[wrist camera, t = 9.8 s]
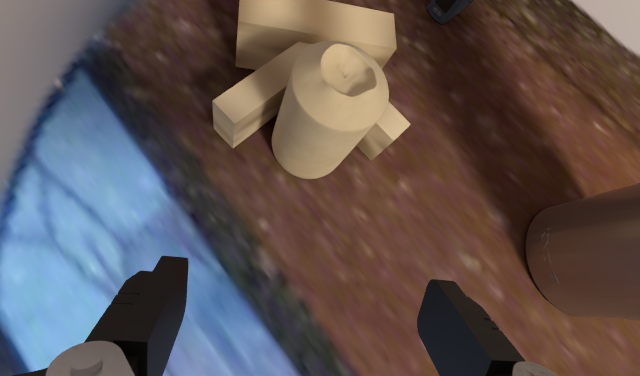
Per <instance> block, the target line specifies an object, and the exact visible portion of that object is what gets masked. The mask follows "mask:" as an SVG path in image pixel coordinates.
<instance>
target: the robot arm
mask: <svg viewBox="0 0 640 376" xmlns="http://www.w3.org/2000/svg"><path fill="white" fill-rule="evenodd" d="M525 247H526V258H527V262H528V266H529V270H530V272H531V275H532V277H533V279H534V282H535V283H536V285H537V287H538V288H539V290H540V291H541V293H542V294H543V295H544V296H545V297H546V298H547V300H548V301H549V302H550V303H552V304H553V305H554V306H556V307H557V308H558V309H560V310H562V311H564V312H566V313H568V314H571V315H575V316H582V317H598V318H615V319H628V320H640V183H639V184H635V185H631V186H627V187H624V188H620V189H616V190H612V191H609V192H605V193H601V194H597V195H593V196H589V197H585V198H582V199H578V200H574V201H570V202H566V203H563V204H559V205H555V206H551V207H548V208H546V209H544V210H542V211H541V212H539V213H538V214H537V215H536V216H535V217H534V219H533V221H532V222H531V224H530V226H529V229H528V232H527V236H526V245H525ZM187 279H188V258H183V257H171V256H162V257H161V258H160V260H159V261H158V263H157V265H156V267H155V268H154V270H153V272H151V271H140V272H138V273H137V274H135V275H134V276H132V277H131V278H129V279H128V280H126V282H125V283H124V284H123V286H122V287H121V289H120V290H119V292H118V295H116V296H115V298H114V299H113V301H112V302H111V305H109V307H108V308H107V310H106V311H105V312H104V314H103V315H102V317H101V318H100V320H99V321H98V323H97V324H96V326H95V327H94V329H93V330H92V332H91V333H90V335H89V336H88V338H87V339H86V340H85V342H84V343H82V344H78V345H76V346H73V347H71V348H69V349H67V350H66V351H64V352H63V353H61V354H60V355H59V356H57V357H56V358H55V359H54V360H53V361H52V363H51V364H50V365H49V367H48V368H45V369H42V370H38V371H34V372H29V373H24V374H19V375H14V376H162V375H163V373H164V370H165V367H166V364H167V362H168V359H169V356H170V353H171V351H172V348H173V345H174V342H175V340H176V337H177V334H178V331H179V329H180V326H181V323H182V320H183V317H184V312H185V307H186V298H187ZM417 328H418V333H419V336H420V338H421V340H422V342H423V344H424V346H425V348H426V350H427V352H428V354H429V356H430V358H431V360H432V361H433V363H434V365H435V367H436V369H437V371H438V373H439V375H440V376H557V375H555V374H554V373H553V372H551V371H550V370H548V369H546V368H544V367H542V366H540V365H538V364H535V363H531V362H526V361H525V360H524V358H523V357H522V356H521V355H520V354H519V352H518V351H517V350H516V349H515V347H514V346H513V345H512V344H511V342H510V341H509V340H508V339H507V337H506V336H505V335H504V334H503V333H502V331H500V330H499V328H498V326H497V325H496V324H495V323H494V321H491V318H490V316H489V315H488V314H487V313H486V312H485V310H484V309H483V308H482V307H481V306H480V305H478V304H477V303H476V302H474V301H473V300H472V299H470V298H469V297H467V296H466V295H465V294H464V293H463V291H462V290H461V289H460V287H459V286H458V285H457V284H456V283H455V282H454V281H446V280H434V279H432V280H430V281H429V283H428V285H427V288H426V292H425V295H424V298H423V301H422V305H421V308H420V311H419V314H418V319H417Z"/></svg>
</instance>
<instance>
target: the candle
mask: <svg viewBox="0 0 640 376" xmlns="http://www.w3.org/2000/svg"><path fill="white" fill-rule="evenodd" d="M388 98H389V90H388V84H387V80H386V78H385V75H384V73H383V71H382V69H381V68H380V66H379V65H378V64H377V62H376V61H375V60H374V59H373V58H372V57H371V56H370V55H369V54H368V53H366V52H365V51H363V50H362V49H360V48H358V47H356V46H354V45H352V44H349V43H345V42H341V41H323V42H319V43H316V44H313V45H311V46H309V47H308V48H306V49H305V50H304V51H302V52H301V54H300V55H299V56H298V57H297V59H296V61H295V63H294V65H293V68H292V71H291V74H290V78H289V81H288V84H287V87H286V91H285V94H284V97H283V100H282V104H281V107H280V110H279V113H278V117H277V120H276V123H275V126H274V130H273V134H272V149H273V153H274V156H275V158H276V160H277V161H278V163H279V164H280V165H281V166H282V167H283V168H284V169H285V170H286V171H287V172H289V173H290V174H292V175H294V176H297V177H300V178H304V179H316V178H320V177H323V176H325V175H327V174H329V173H330V172H332V171H333V170H334V169H335V168H336V167H337V166H338V165H339V164H340V163H341V162H342V160H343V159H344V158H345V157H346V156H347V155H348V154H349V153H350V151H351V150H352V149H353V148H354V147H355V146H356V145H357V144H358V142H359V141H360V140H361V139H362V138H363V137H364V136H365V135H366V133H367V132H368V131H369V130H370V129H371V128H372V127H373V126H374V124H375V123H376V122H377V121H378V120H379V119H380V118H381V116H382V115H383V113H384V111H385V109H386V107H387V104H388Z"/></svg>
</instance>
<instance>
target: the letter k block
mask: <svg viewBox="0 0 640 376" xmlns="http://www.w3.org/2000/svg"><path fill="white" fill-rule="evenodd" d="M323 41H341V42H345V43H349V44H352V45H354V46H356V47H358V48H360V49H362V50H363V51H365V52H366V53H368V54H369V55H370V56H371V57H372V58H373V59H374V60H375V61H376V62H377V64H378V65H379V66H380V68H381V69H382V68H383V67H384V65H385V64H386V63H387V61H388V60H389V58H390V57H391V56H392V54H393V53H394V51H395V50H396V49H397V48H396V36H395V23H394V14H392V13H387V12H382V11H377V10H372V9H367V8H362V7H357V6H352V5H347V4H343V3H338V2H333V1H328V0H240V2H239V17H238V32H237V48H236V63H235V67H240V68H247V69H254V70H256V71H255V72H253V73H252V74H250V75H249V76H248V77H246V78H245V79H243V80H242V81H240V82H239V83H237V84H236V85H234V86H233V87H232V88H230V89H229V90H227V91H226V92H224V93H223V94H221V95H220V96H218V97H217V98H216V99H214V100H213V101H212V102H213V125H214V129H215V130H216V131H217V133H218V134H219V135H220V136H221V137H222V138H223V139H224V140H225V141H226V142H227V143H228V144H229V145H230V146H231V147H232V148H234V147H236V146H237V145H238V144H239V143H241V142H242V141H243V140H245V139H246V138H247V137H249V136H250V135H251V134H252V133H254V132H255V131H256V130H258V129H259V128H260V127H262V126H263V125H264V124H265V123H267V122H268V121H269V120H271V119H272V118H273V117H274V116H276V115H277V114H278V113H279V110H280V107H281V104H282V100H283V97H284V94H285V91H286V87H287V84H288V81H289V78H290V74H291V71H292V68H293V65H294V63H295V61H296V59H297V57H298V56H299V55H300V54H301V52H302V51H304V50H305V49H306V48H308V47H309V46H311V45H313V44H316V43H319V42H323ZM410 125H411V124H410V123H409V122H408V121H407V120H406V119H405V118H404V117H403V116H402V115H401V114H400V113H399V112H398V111H397V110H396V109H395V107H394V106H393V105H392V104H391V103H390V102H389V101H388V104H387V107H386V109H385V111H384V113H383V115H382V116H381V118H380V119H379V120H378V121H377V122H376V123H375V124H374V126H373V127H372V128H371V129H370V130H369V131H368V132H367V133H366V135H365V136H364V137H363V138H362V139H361V140H360V141H359V142H358V144H357V145H356V146H357V147H358V148H359V149H360V150H361V151H362V152H363V153H364V154H365V155H366V156H367V157H368V158H369V159H370V160H371V161H372V160H373V159H374V158H375V157H376V156H377V155H378V154H379V153H381V152H382V151H383V150H384V149H385V148H386V147H387V146H389V145H390V144H391V143H392V142H393V141H394V140H395V139H396V138H397V137H398V136H399V135H400V134H401V133H402V132H403V131H404V130H405V129H406V128H408V127H409V126H410Z"/></svg>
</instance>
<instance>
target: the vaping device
mask: <svg viewBox="0 0 640 376" xmlns="http://www.w3.org/2000/svg"><path fill="white" fill-rule="evenodd" d="M472 1H473V0H432V1H431V2H430V4H429V5H428V7H427V9H428V11H429V13H430V15H431V16H432V17H433V18H434V19H435V20H436V21H438V22H440V24H444V23H446V22H447V21H448V20H450V19H451V18H452V17H454V16H455V15H457V14H458V13H459V12H461V11H462V10H463V9H464V8H465V7H466V6H467V5H468V3H469V2H470V3H471V2H472Z"/></svg>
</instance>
